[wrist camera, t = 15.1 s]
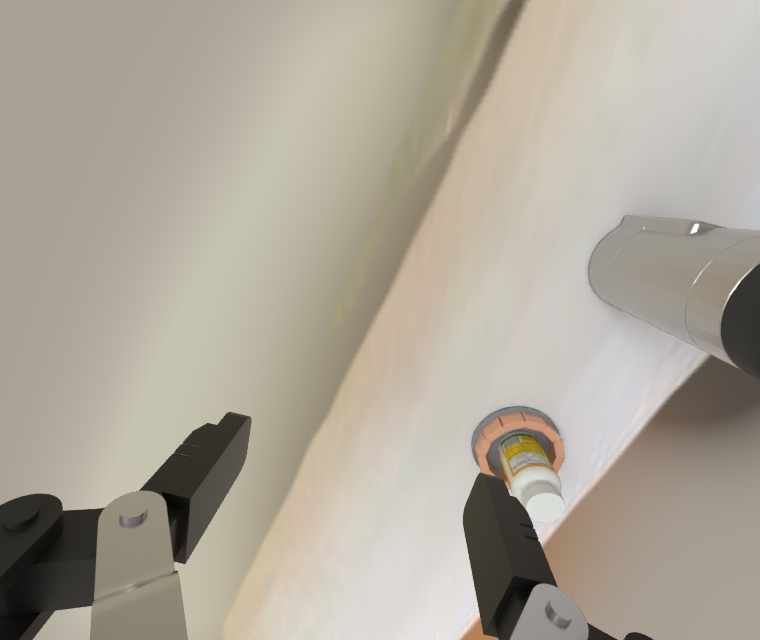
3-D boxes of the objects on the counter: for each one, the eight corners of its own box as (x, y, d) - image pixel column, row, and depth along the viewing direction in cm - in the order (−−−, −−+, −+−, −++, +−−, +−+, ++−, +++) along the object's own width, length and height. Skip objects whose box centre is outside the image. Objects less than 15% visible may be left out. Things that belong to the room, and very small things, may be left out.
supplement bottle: (504, 425, 45) (529, 482, 36) (545, 434, 45) (581, 493, 36) (490, 459, 47) (511, 522, 38) (530, 468, 47) (561, 533, 38)
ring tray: (487, 397, 45) (492, 409, 42) (572, 418, 45) (582, 430, 43) (460, 466, 48) (463, 481, 46) (539, 485, 49) (546, 500, 46)
